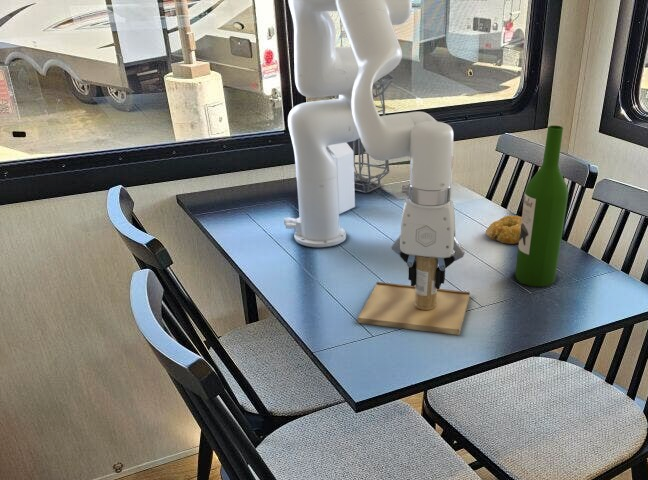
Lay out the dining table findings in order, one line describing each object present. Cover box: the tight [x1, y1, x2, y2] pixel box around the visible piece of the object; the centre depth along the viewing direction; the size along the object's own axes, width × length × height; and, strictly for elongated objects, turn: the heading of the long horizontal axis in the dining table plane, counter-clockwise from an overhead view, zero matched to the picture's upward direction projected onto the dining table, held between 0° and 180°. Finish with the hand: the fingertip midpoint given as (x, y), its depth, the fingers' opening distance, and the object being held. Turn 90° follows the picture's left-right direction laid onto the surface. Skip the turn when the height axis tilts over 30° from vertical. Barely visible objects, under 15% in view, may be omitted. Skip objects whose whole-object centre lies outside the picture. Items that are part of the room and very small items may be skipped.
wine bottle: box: [514, 125, 569, 288], centre depth 143 cm, size 9×9×32 cm
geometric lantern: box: [335, 73, 397, 194], centre depth 191 cm, size 16×16×35 cm
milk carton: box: [326, 142, 356, 215], centre depth 180 cm, size 7×7×19 cm
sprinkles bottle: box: [415, 256, 439, 310], centre depth 134 cm, size 5×5×14 cm
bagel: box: [485, 214, 522, 245], centre depth 170 cm, size 10×11×5 cm
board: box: [357, 281, 471, 336], centre depth 138 cm, size 20×16×2 cm
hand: (426, 283), depth 135 cm, fingers closed on sprinkles bottle, 4 cm apart
